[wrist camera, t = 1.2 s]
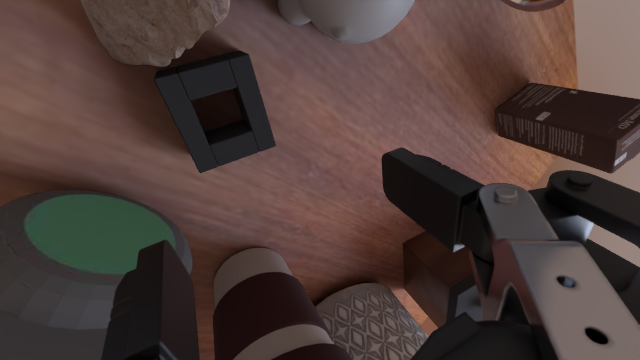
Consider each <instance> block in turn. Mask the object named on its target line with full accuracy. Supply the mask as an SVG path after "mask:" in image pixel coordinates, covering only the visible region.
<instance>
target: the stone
mask: <svg viewBox="0 0 640 360" xmlns="http://www.w3.org/2000/svg"><path fill="white" fill-rule="evenodd" d="M81 3H82V5H83V8H84V10H85V12H86V15H87V17H88V19H89V21H90V22H91V24H92V26H93V28H94V31H95V33H96V35H97V37H98V39H99V41H100V42H101V44H102V45H103V46H104V47H105V48H106V49H107V51H108V53H109V54H110V56H111V58H113V59H115V60H118V61H119V62H121V63H124V64H133V65H143V64H147V65H152V66H159V67H166V66H167V65H169V64H170V63H171V59H176V58H179V57H181V55H182V54H183V52H184V50H185V48H187V49H190V48H192V47H193V46H194V44H195V42H196V41H198V40H199V38H200V36H201V35H202V34H203V33H204V32H205V31H207V30H208V29H213V28H215V27H216V26H218V25H220V24H221V23H222V22H223V20H224V19H225V18H226V16H227V14H228V11H229V8H230V0H81Z"/></svg>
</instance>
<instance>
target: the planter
mask: <svg viewBox="0 0 640 360" xmlns="http://www.w3.org/2000/svg"><path fill="white" fill-rule="evenodd" d="M315 308H316V310H317V311H318V313H319V315H320V316H321V318H322V320H323V321H324V323H325V325H326V326H327V328H328V330H329V332H330V335H331V341H332V342H333V344H335V345H338V346H340V347H342V348H344V349H345V350H346V351H347V352H348V353H349V355H350V357H351V359H352V360H410V359H411V358H412V357H413V356H414V354H415V353H416V352H417V351H418V349H419V348H420V347H421V346H422V345H423V343H424V342H425V341H426V340H427V338H428V336H427V335H426V333H425V332H424V331H423V330H422V328H421V327H420V326H419V325H418V324H417V322H416V321H415V320H414V319H413V317H412V316H411V315H410V314H409V312H408V311H407V310H406V309H405V308H404V306H403V305H402V304H401V303H400V301H399V300H398V299H397V298H396V297H395V295H394V294H393V293H392V292H391V290H390V289H389V288H387V287H386V286H384V285H381V284H377V283H363V284H358V285H354V286H351V287H348V288H345V289H342V290H340V291H338V292H335V293H334V294H332V295H330V296H328V297H327V298H325V299H324V300H322V301H321V302H320V303H319V304H317V305H316V306H315Z"/></svg>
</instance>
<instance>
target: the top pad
mask: <svg viewBox="0 0 640 360" xmlns="http://www.w3.org/2000/svg"><path fill="white" fill-rule="evenodd" d="M154 81H155V83H156V85H157V87H158V89H159V91H160V93H161V95H162V97H163V99H164V101H165V103H166V105H167V107H168V109H169V111H170V113H171V115H172V117H173V120H174V122H175V124H176V126H177V128H178V130H179V132H180V134H181V136H182V138H183V140H184V142H185V144H186V146H187V148H188V150H189V152H190V154H191V156H192V158H193V160H194V162H195V165H196V167H197V169H198V171H199V172H200V173H202V172H205V171H207V170H210V169H213V168H216V167H218V166H221V165H224V164H227V163H230V162H232V161H235V160H238V159H241V158H243V157H246V156H249V155H252V154H255V153H257V152H259V151H263V150H266V149H269V148H271V147H274V146H276V144H275V141H274V137H273V134H272V131H271V127H270V124H269V121H268V117H267V114H266V110H265V107H264V104H263V100H262V97H261V94H260V90H259V87H258V83H257V80H256V77H255V73H254V70H253V67H252V63H251V60H250V57H249V54H247V53H244V52H242V51H235V52H231V53H227V54H223V55H222V56H221V55H219V56H216V57H212V58H208V59H204V60H200V61H196V62H192V63H188V64H185V65H181V66H178V67H173V68H169V69H165V70H161V71H157V72H156V75H155V78H154ZM229 89H233V90H234V92H235V95H236V98H237V101H238V104H239V107H240V110H241V113H242V116H243V118H244V120H240V121H237V122H234V123H231V124H228V125H225V126H222V127H219V128H216V129H213V130H210V131H206V133H205V131H204V128H203V126H202V124H201V122H200V119H199V117H198V115H197V112H196V110H195V108H194V105H193V103H192V100H195V99H199V98H202V97H205V96H209V95H212V94H216V93H219V92H223V91H226V90H229Z"/></svg>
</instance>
